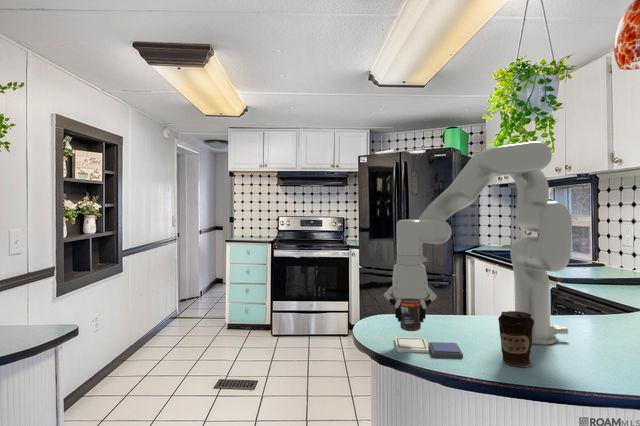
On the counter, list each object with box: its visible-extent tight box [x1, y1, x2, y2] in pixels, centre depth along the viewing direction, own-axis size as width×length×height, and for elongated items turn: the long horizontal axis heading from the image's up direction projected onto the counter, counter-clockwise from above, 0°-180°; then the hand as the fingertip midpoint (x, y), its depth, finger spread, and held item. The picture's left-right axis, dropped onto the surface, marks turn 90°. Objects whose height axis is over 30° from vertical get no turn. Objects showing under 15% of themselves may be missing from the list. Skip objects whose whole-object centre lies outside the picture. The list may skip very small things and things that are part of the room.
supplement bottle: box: [399, 299, 422, 332], centre depth 109 cm, size 6×6×11 cm
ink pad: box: [427, 341, 464, 359], centre depth 104 cm, size 8×8×2 cm
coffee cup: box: [497, 310, 534, 368], centre depth 95 cm, size 9×8×13 cm
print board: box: [394, 336, 430, 354], centre depth 109 cm, size 9×10×1 cm
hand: (410, 320), depth 109 cm, fingers closed on supplement bottle, 6 cm apart
